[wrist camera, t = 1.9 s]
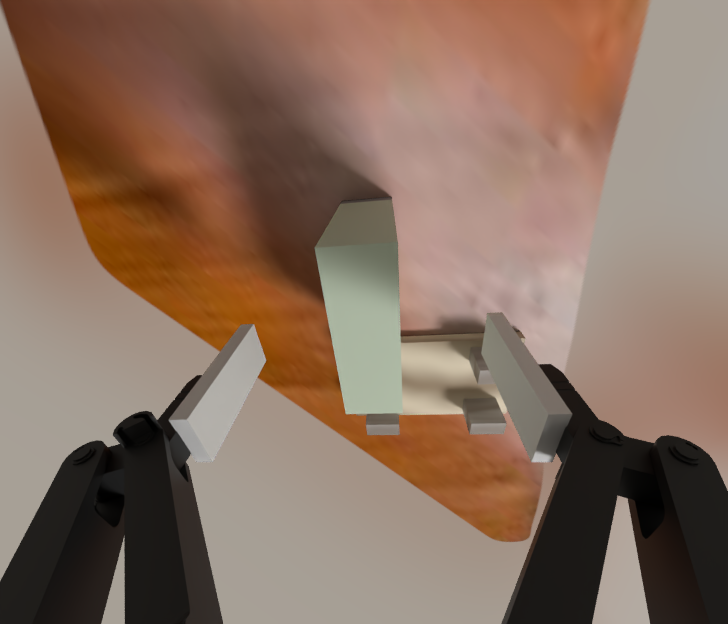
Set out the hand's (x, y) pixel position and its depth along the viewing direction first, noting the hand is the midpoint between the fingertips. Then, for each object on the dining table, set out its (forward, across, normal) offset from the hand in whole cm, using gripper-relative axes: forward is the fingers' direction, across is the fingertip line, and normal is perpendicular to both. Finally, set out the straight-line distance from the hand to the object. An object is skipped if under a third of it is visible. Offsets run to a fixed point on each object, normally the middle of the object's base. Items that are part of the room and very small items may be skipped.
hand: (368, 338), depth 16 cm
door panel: (+9, 0, +1) cm, 9 cm away
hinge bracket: (+9, +5, -11) cm, 15 cm away
